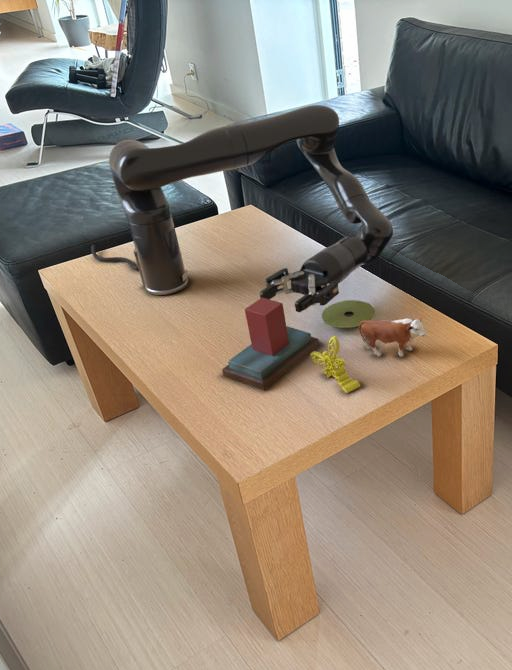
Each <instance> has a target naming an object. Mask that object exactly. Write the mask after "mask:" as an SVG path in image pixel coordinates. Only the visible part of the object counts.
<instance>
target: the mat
mask: <svg viewBox="0 0 512 670" xmlns="http://www.w3.org/2000/svg"><path fill="white" fill-rule="evenodd" d="M375 315H376V309H375V307H374V306H373V305H372V304H370V303H369V302H366V301H363V300H362V301H361V300H356V299H353V300H352V299H349V300H347V299H346V300H342V301H337V302H334V303H332V304H330V305H328V306H327V307H325V308H324V309H323V311H322V313H321V320H322V322H324V323H325V324H327V325H328V326H330V327H334V328H339V329H340V328H341V329H342V328H344V329H345V328H346V329H347V328H355V327H356V328H357V327H359V324H360V323H361V322H362V321H365V320H373V318H374V317H375Z"/></svg>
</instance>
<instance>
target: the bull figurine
mask: <svg viewBox="0 0 512 670" xmlns="http://www.w3.org/2000/svg"><path fill="white" fill-rule="evenodd" d="M421 321H422V317H419V319H417V318H416V319H414V320H413V319H411V318H403V319H395V320H381V319H371V320H365V321H362V322H361V323H360V324H359V326H358V332H359V335H360V337H361V338H362V341H363V344H364V347H365V348H366V349H367V350H372V352H373V355H374V356H375V355H376V356H377V357H378V358H379V357H382V356H383V354H382V352H381V351H379V350H378V348H377V345H376V341H380V342H382V343H384V345H387V344H391V343H397V344H398V352H397V356H399V357H400V358H405V354H404V352H403V349H404V348H405V350H407V351H408V352H412V351H413V350H414V348H413V347H412V346H411V345H410V343H411V342H413V340H415V339H416V337H420V338H423V337H426V336H427V331H426V330H425V328H424V324H423V323H422V322H421Z"/></svg>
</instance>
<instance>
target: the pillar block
mask: <svg viewBox="0 0 512 670" xmlns="http://www.w3.org/2000/svg"><path fill="white" fill-rule="evenodd" d="M244 313H245V319H246V324H247V329H248V334H249V338H250V343H251V344H252V349H253V350H256V351H259V352H262V353H265V354H268V355H271V356H274V355H275V354H276V353H277V352H279V351H280V350H281V349H283V348H284V347H285V346H286V345H288V344H289V339H288V333H287V327H286V326H287V321H286V316H285V310H284V304H283V302H280V301H276V300H273V299H270V300H269V299H266V298H260V297H259V299H257V300H256V301H255V302H253V303H251V304H250V305H248V306H247V307H246V308H244ZM251 344H250V345H251Z"/></svg>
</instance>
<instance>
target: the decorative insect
mask: <svg viewBox="0 0 512 670" xmlns="http://www.w3.org/2000/svg"><path fill="white" fill-rule="evenodd" d="M339 351H340V341H339V338H338V337H337V336H335V335H334V336H333V335H332V337H330V338H329V341H328V350H325V351H323V352H322V353H321V352H319V351H315V350H313V351H312V352H311V353H309V355H310V358H311V360H312V361H313V362H314V363H315V364H317V365H320V366H321V365H324V367H323V373H324V375H326V377H327V378H330V377H333V378H335V381H336V383H338V386H339V387H340V388H341V389H342V390H343V392H344V393H346V394H349V393H350V392H352V391H354V390H357V389H358V388H360V387H361V384H360V382H359V381H358V380H357V379H352V378H351V377H349V375H348V373H347V371H346V367H347V363H346V362H345V360H344V359H343V358H342V357H339V356H338V354H339ZM317 357H318V358H317Z"/></svg>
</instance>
